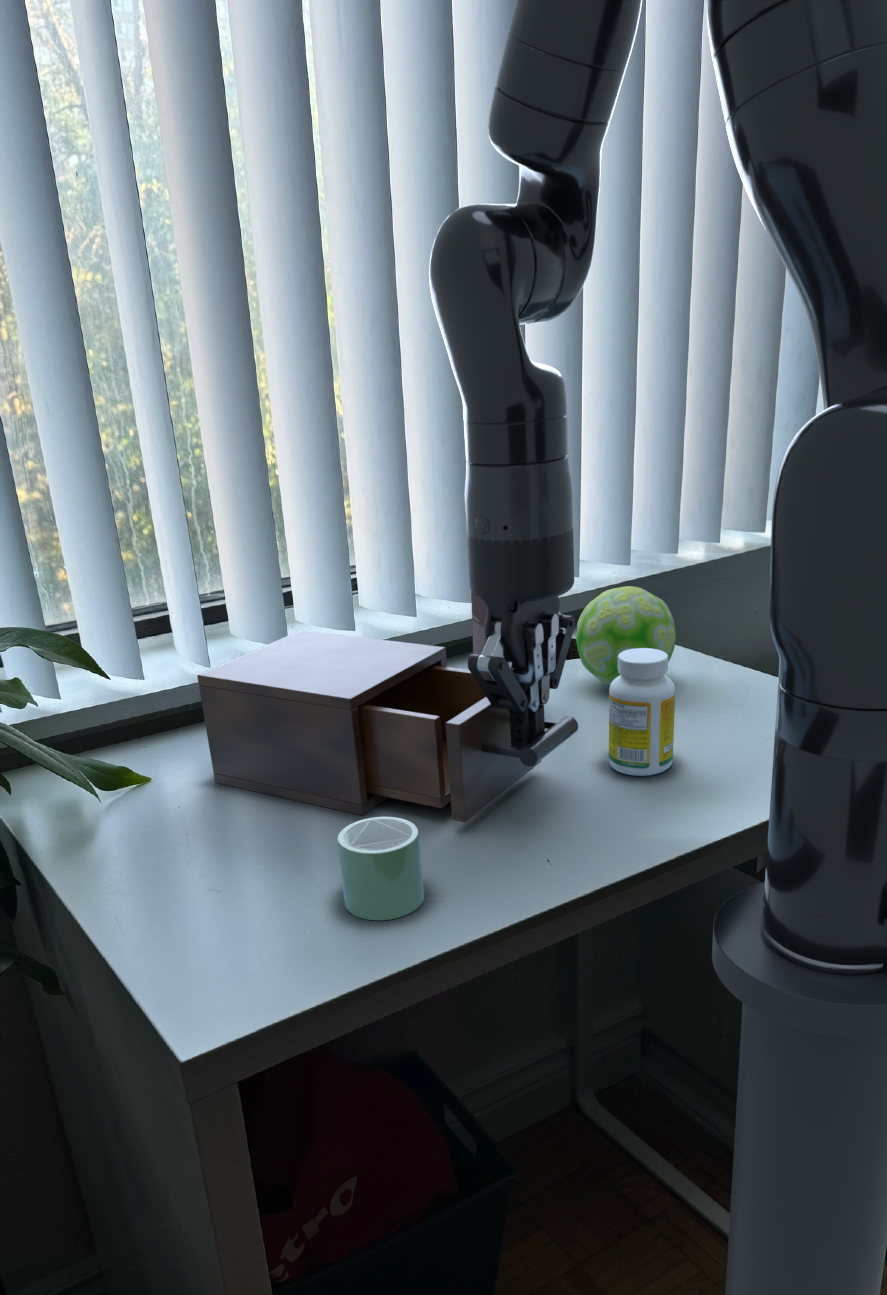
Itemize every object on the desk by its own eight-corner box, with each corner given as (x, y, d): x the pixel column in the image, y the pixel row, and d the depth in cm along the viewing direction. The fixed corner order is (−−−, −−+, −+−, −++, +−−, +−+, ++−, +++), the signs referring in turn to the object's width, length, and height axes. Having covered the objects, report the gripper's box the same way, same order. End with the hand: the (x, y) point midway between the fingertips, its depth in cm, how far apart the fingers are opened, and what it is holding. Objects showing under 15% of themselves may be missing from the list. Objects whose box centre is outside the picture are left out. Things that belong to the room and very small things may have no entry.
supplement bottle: (623, 781, 88) (623, 669, 84) (599, 757, 93) (598, 650, 89) (684, 771, 89) (687, 660, 85) (657, 748, 94) (659, 641, 90)
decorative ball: (556, 686, 110) (554, 589, 106) (626, 663, 115) (626, 570, 111) (626, 709, 103) (626, 607, 99) (697, 684, 108) (700, 585, 104)
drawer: (594, 770, 88) (593, 678, 85) (521, 835, 78) (517, 734, 75) (398, 736, 98) (390, 653, 94) (312, 790, 88) (300, 699, 85)
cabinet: (452, 753, 96) (445, 647, 92) (362, 815, 85) (350, 699, 81) (313, 728, 104) (300, 629, 100) (214, 782, 93) (196, 675, 89)
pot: (439, 890, 74) (434, 825, 72) (395, 928, 70) (388, 860, 68) (374, 873, 77) (368, 810, 74) (328, 909, 72) (320, 843, 70)
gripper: (522, 547, 69) (531, 793, 76) (607, 509, 79) (608, 729, 86) (423, 542, 73) (442, 776, 80) (517, 506, 83) (525, 717, 90)
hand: (528, 751), depth 83 cm, fingers closed
